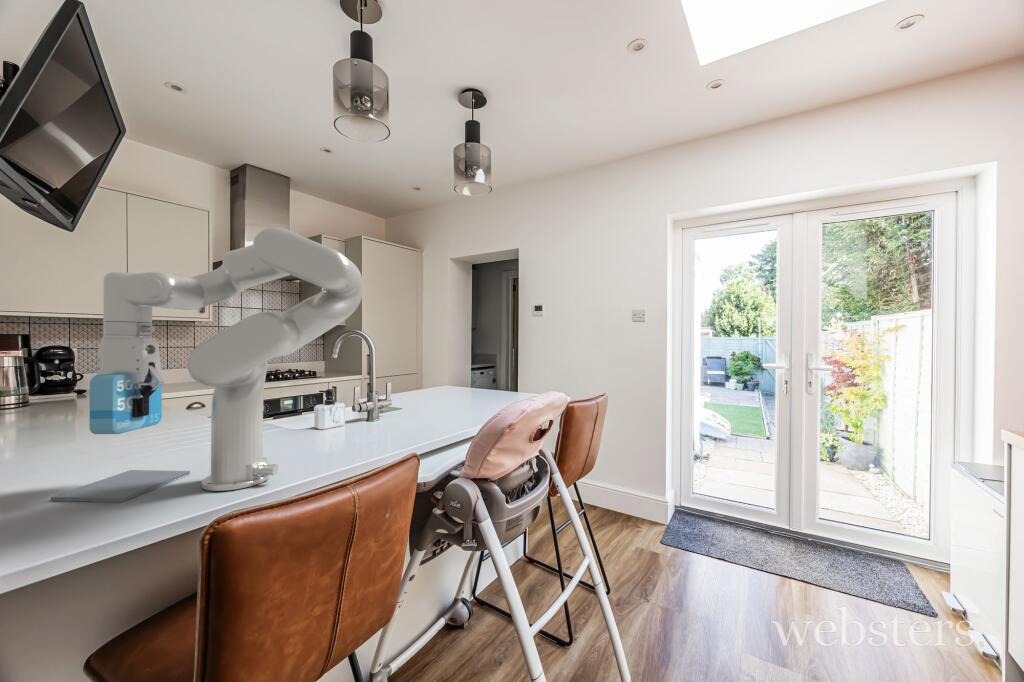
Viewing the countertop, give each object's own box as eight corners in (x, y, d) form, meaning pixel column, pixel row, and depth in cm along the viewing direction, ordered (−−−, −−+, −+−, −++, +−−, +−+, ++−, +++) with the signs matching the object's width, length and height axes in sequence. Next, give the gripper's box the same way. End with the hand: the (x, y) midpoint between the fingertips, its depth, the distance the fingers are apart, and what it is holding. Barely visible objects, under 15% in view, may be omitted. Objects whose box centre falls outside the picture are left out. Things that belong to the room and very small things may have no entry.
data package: (112, 435, 79) (112, 375, 79) (88, 435, 79) (88, 375, 79) (162, 423, 91) (162, 370, 91) (141, 423, 91) (141, 370, 91)
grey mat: (189, 474, 93) (189, 470, 93) (122, 502, 77) (122, 498, 77) (130, 473, 93) (130, 470, 93) (50, 501, 77) (50, 496, 77)
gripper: (182, 331, 89) (182, 413, 89) (107, 331, 89) (106, 412, 89) (151, 331, 81) (151, 420, 81) (69, 330, 81) (69, 419, 81)
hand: (128, 415), depth 85 cm, fingers closed on data package, 4 cm apart
